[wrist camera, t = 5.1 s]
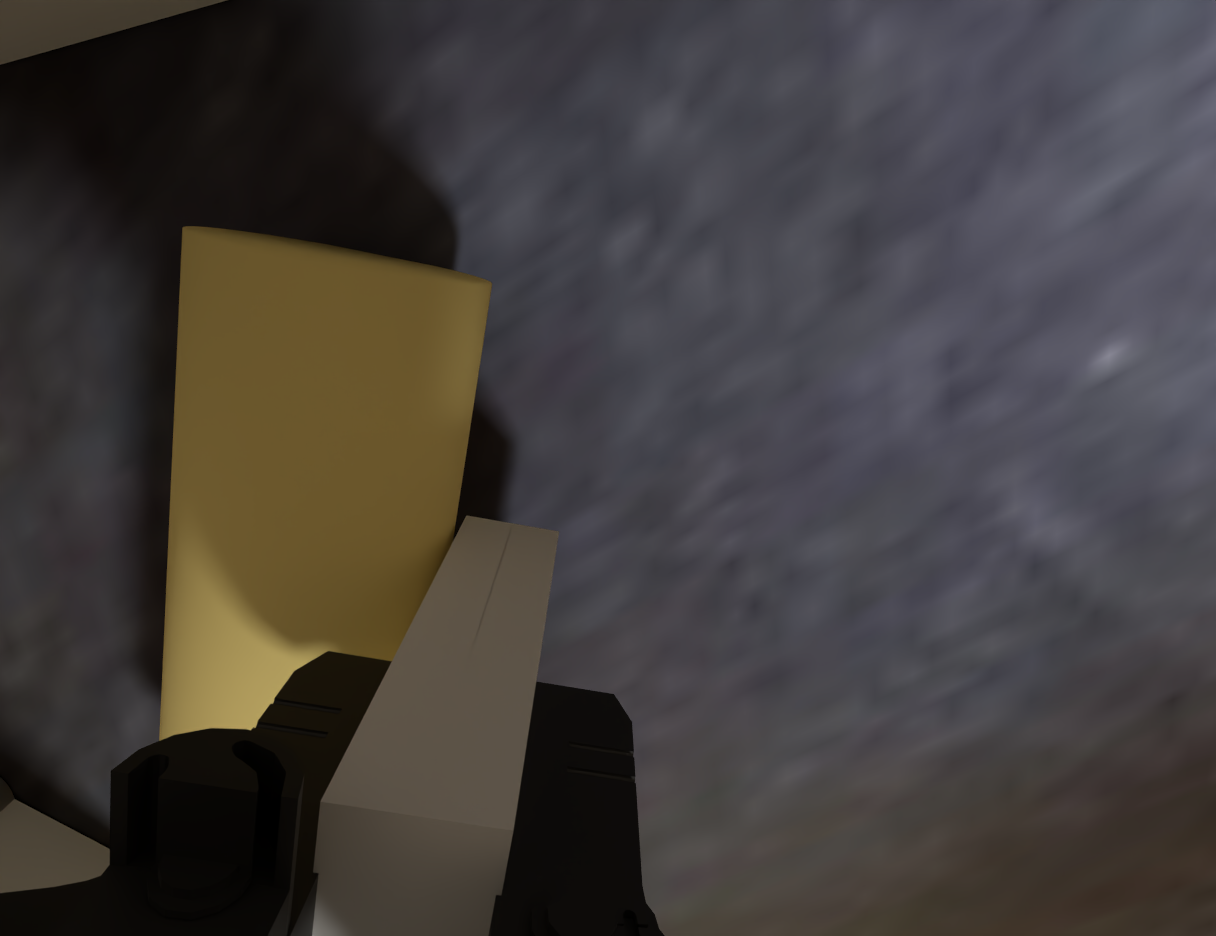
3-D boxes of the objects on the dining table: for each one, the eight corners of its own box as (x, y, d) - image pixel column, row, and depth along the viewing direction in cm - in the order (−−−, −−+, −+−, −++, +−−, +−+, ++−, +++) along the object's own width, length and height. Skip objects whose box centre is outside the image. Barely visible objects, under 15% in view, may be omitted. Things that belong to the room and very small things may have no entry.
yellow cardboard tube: (437, 263, 13) (172, 217, 11) (539, 298, 10) (195, 244, 8) (373, 751, 16) (148, 793, 14) (437, 900, 13) (159, 985, 11)
